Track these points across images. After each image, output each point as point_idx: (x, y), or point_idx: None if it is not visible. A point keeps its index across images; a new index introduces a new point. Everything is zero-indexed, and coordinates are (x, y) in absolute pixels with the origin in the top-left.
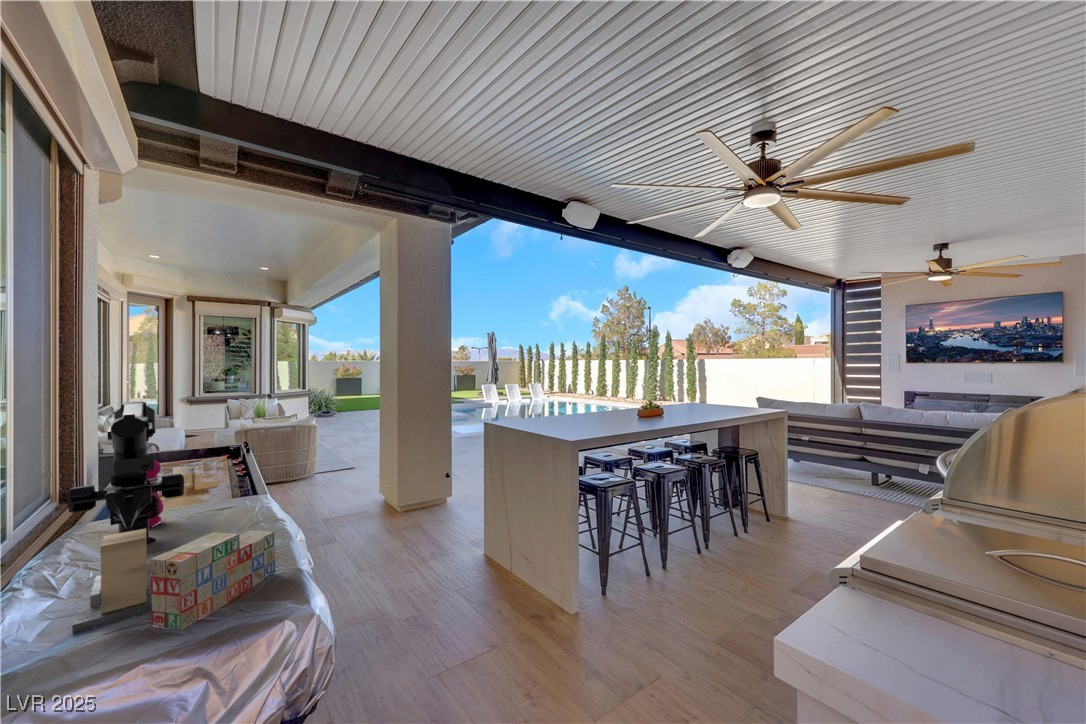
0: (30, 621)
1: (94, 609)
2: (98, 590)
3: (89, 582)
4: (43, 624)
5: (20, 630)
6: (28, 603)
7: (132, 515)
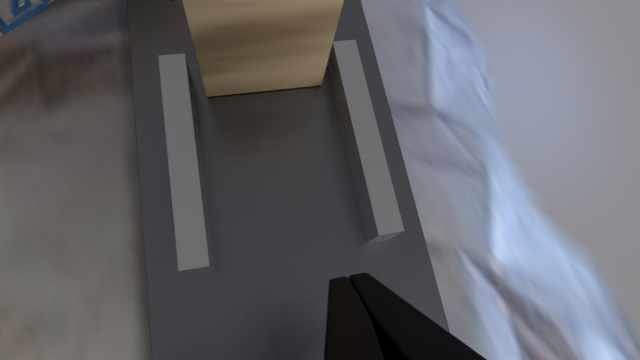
0: (484, 126)
1: None
2: (345, 72)
3: (429, 294)
4: (441, 87)
5: (481, 83)
6: (562, 276)
7: (345, 343)
